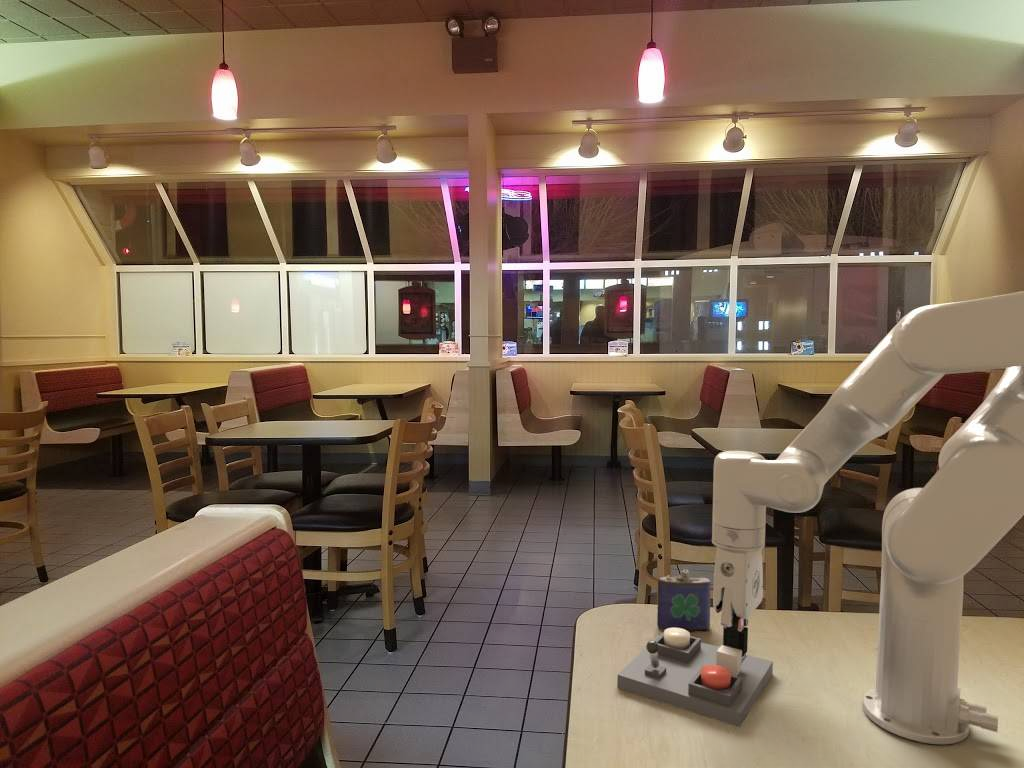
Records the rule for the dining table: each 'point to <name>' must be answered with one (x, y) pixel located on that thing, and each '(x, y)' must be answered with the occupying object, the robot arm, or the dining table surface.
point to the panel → (696, 681)
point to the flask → (684, 603)
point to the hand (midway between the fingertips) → (735, 652)
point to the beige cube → (729, 659)
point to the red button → (715, 677)
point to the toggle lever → (653, 653)
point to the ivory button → (677, 638)
